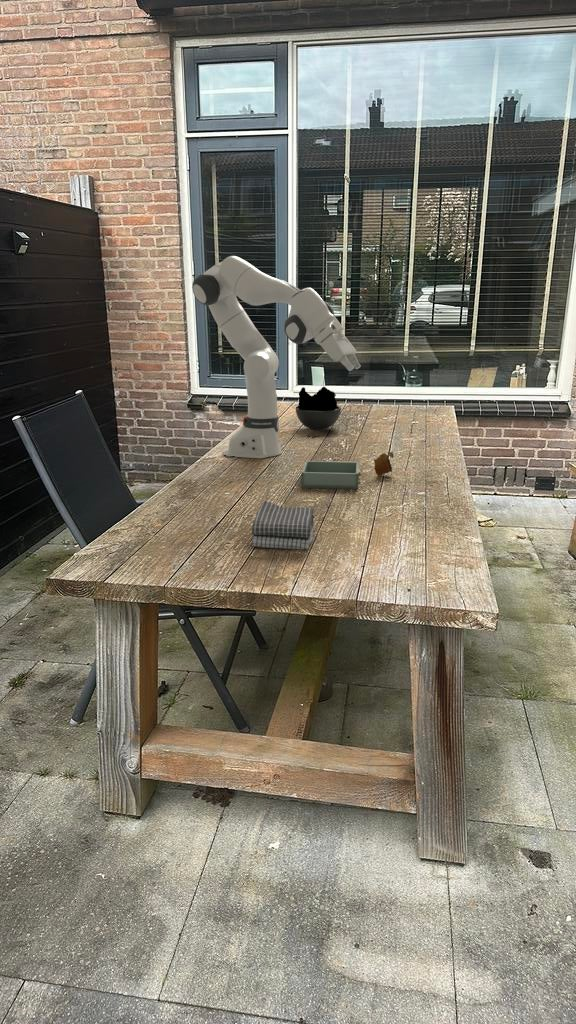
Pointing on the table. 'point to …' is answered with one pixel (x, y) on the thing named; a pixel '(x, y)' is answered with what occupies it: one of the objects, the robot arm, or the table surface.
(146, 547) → the table surface
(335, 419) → the bowl of black rocks
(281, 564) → the table surface
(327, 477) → the bin
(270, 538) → the towel
